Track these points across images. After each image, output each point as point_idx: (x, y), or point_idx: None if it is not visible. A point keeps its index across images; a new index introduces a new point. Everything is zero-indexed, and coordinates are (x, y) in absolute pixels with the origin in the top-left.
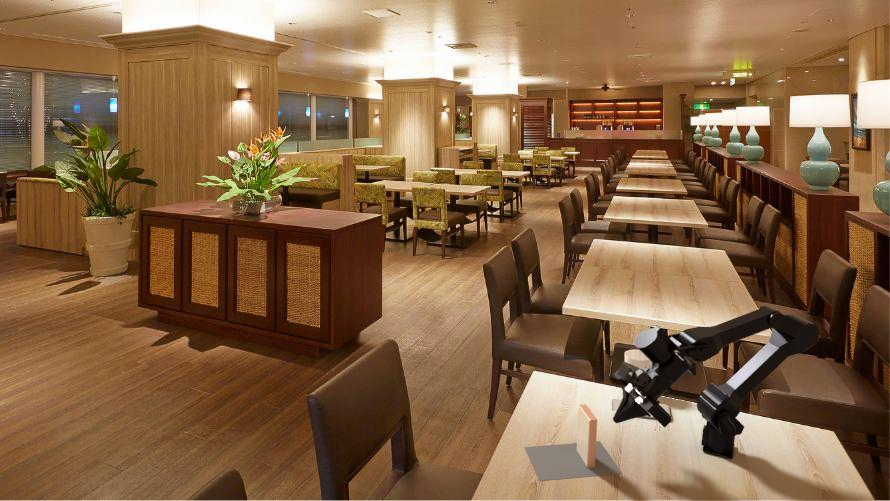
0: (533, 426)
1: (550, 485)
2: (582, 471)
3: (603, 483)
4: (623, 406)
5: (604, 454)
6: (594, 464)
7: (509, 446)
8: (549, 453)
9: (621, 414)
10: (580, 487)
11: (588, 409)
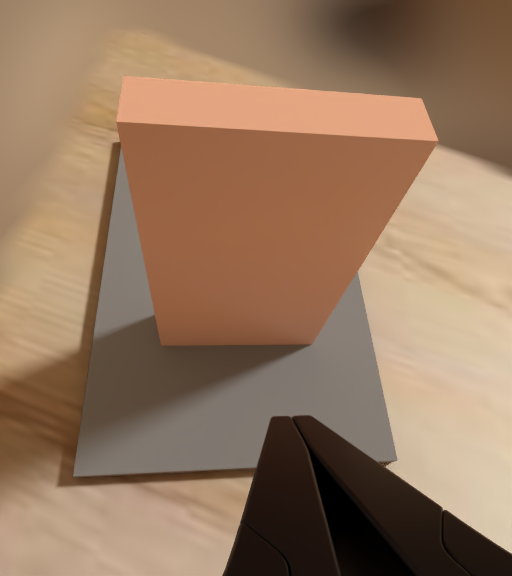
0: (488, 216)
1: (100, 164)
2: (141, 282)
3: (46, 352)
4: (391, 571)
5: (264, 438)
6: (160, 337)
7: None
8: None
9: (251, 485)
10: (53, 251)
11: (329, 123)
